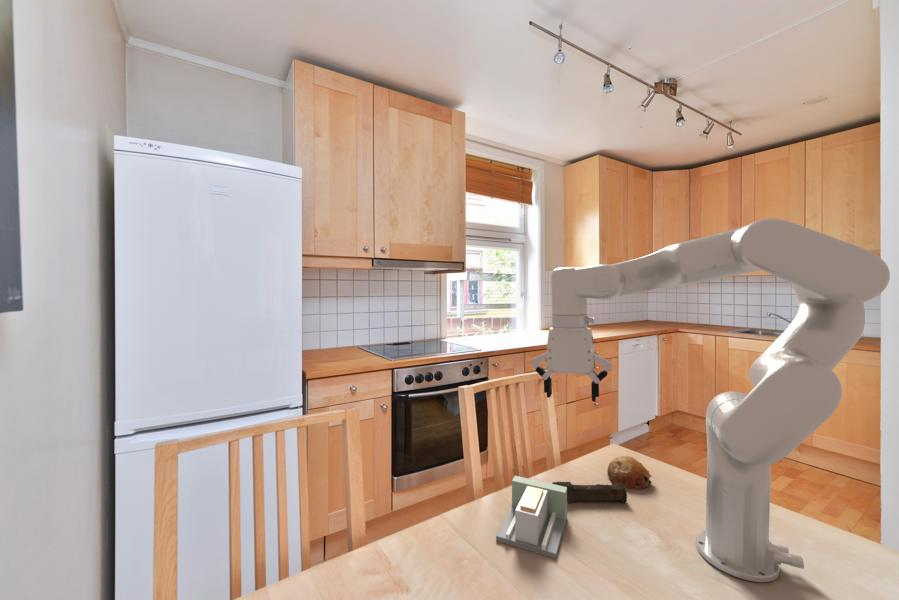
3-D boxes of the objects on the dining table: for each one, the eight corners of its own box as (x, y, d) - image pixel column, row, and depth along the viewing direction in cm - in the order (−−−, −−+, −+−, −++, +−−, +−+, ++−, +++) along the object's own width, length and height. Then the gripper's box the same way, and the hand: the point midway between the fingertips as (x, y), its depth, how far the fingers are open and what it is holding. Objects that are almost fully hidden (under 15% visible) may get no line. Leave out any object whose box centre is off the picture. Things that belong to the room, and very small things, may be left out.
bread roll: (625, 482, 106) (614, 453, 108) (660, 480, 98) (647, 448, 101) (608, 494, 99) (596, 463, 102) (644, 493, 92) (630, 460, 94)
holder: (547, 517, 82) (547, 487, 82) (537, 545, 73) (537, 513, 73) (527, 511, 84) (527, 483, 84) (515, 539, 75) (515, 507, 75)
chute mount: (566, 517, 84) (567, 487, 83) (556, 558, 71) (556, 523, 71) (514, 504, 89) (514, 475, 89) (496, 540, 76) (496, 507, 76)
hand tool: (620, 496, 92) (621, 477, 92) (628, 505, 88) (628, 486, 88) (544, 495, 93) (544, 477, 93) (547, 504, 89) (547, 485, 89)
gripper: (611, 321, 83) (613, 396, 84) (534, 320, 90) (535, 390, 91) (611, 324, 76) (612, 406, 77) (527, 323, 83) (529, 399, 84)
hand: (571, 397), depth 84 cm, fingers open, 9 cm apart
